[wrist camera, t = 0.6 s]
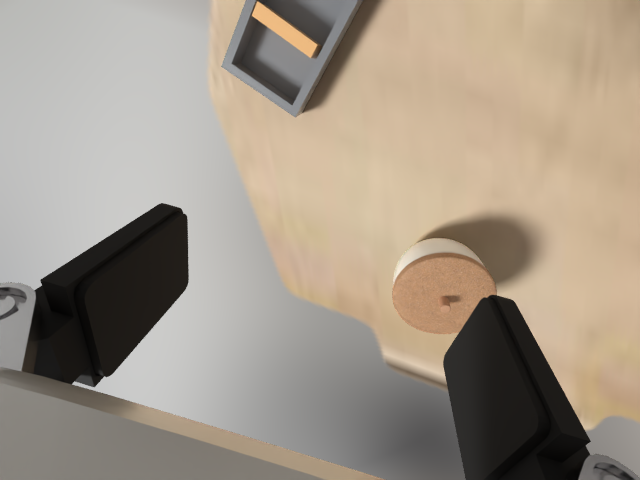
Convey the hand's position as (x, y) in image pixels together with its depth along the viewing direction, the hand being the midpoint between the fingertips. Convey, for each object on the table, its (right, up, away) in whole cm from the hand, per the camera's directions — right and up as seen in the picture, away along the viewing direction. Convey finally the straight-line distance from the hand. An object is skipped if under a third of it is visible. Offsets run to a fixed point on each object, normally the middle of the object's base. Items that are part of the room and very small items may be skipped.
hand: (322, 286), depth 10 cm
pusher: (-3, +22, +20) cm, 30 cm away
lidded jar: (+15, -1, +31) cm, 34 cm away
